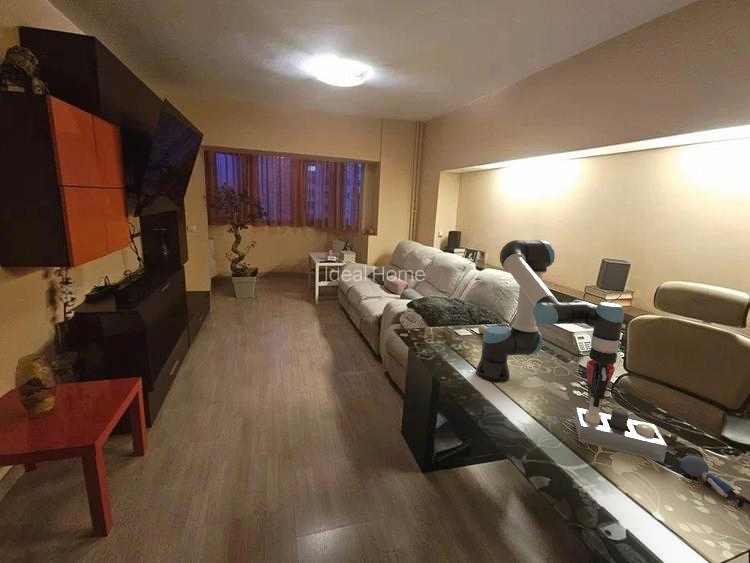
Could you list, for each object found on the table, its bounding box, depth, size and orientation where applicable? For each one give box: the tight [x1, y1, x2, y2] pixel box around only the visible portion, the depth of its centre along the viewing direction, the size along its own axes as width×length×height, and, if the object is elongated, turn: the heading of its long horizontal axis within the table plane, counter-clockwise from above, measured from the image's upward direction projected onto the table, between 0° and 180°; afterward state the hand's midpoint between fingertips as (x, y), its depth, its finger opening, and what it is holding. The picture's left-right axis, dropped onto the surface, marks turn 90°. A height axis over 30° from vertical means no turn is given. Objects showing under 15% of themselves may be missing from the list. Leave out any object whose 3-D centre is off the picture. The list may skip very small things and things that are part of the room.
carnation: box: [478, 325, 488, 335], centre depth 202 cm, size 12×12×35 cm
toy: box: [675, 455, 750, 509], centre depth 96 cm, size 7×6×15 cm
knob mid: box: [609, 408, 630, 431], centre depth 114 cm, size 5×5×6 cm
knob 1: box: [584, 409, 601, 425], centre depth 117 cm, size 5×5×6 cm
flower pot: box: [586, 359, 616, 389], centre depth 154 cm, size 11×11×10 cm
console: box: [574, 407, 668, 464], centre depth 114 cm, size 23×12×6 cm, turn 66°
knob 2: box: [636, 423, 655, 438], centre depth 111 cm, size 5×5×6 cm
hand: (593, 413), depth 116 cm, fingers closed
